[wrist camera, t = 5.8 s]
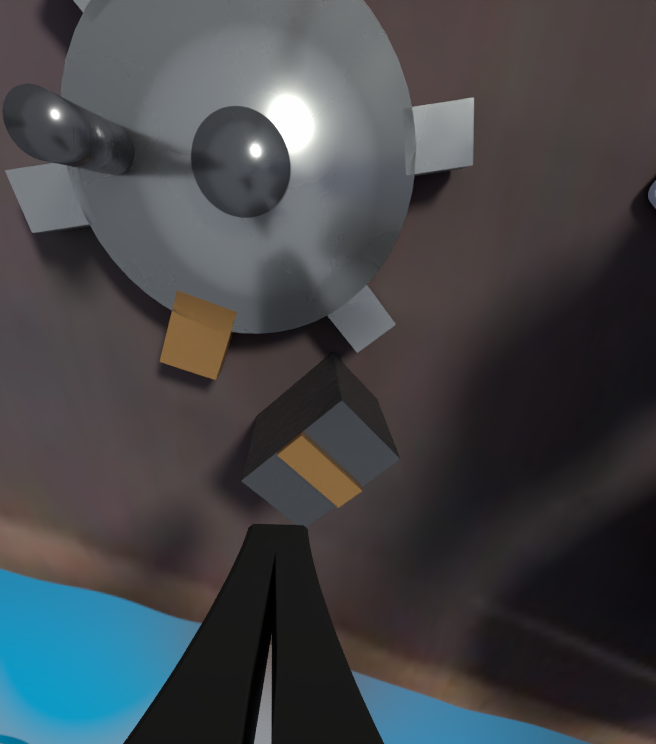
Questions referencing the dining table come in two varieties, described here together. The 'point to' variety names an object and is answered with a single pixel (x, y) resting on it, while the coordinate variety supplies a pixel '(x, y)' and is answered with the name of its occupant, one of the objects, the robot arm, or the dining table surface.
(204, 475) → the dining table surface
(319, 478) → the banded cube
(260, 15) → the sprocket
